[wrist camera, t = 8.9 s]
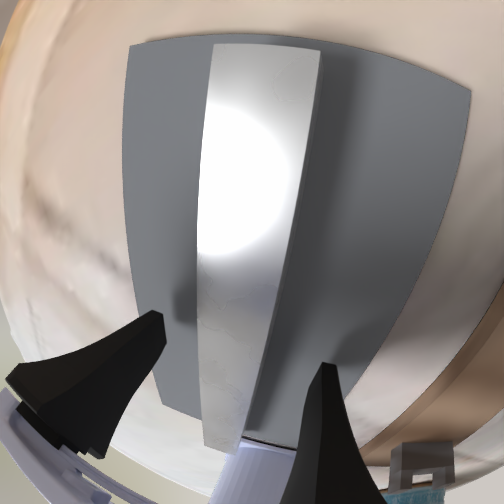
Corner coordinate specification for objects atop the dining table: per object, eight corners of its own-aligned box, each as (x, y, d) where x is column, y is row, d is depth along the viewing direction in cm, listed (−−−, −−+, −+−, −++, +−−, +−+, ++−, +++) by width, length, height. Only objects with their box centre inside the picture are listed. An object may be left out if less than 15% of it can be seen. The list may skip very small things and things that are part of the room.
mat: (303, 442, 17) (301, 448, 17) (165, 398, 20) (162, 404, 19) (463, 92, 5) (471, 91, 5) (139, 47, 8) (129, 45, 7)
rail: (245, 430, 17) (235, 455, 15) (215, 420, 18) (204, 445, 16) (323, 70, 6) (320, 50, 4) (245, 61, 7) (213, 43, 5)
